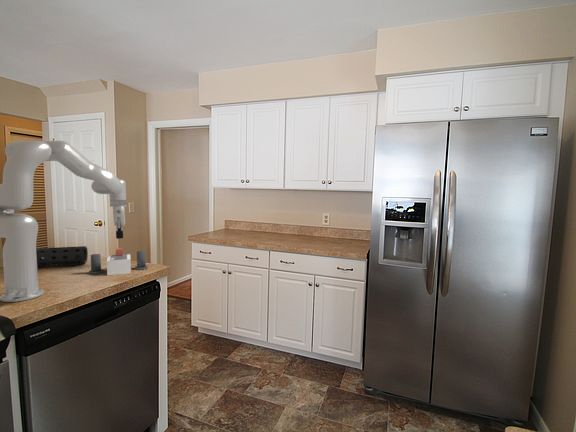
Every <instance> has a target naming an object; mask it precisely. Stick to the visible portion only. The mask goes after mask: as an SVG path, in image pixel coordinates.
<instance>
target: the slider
mask: <svg viewBox="0 0 576 432" xmlns="http://www.w3.org/2000/svg"><path fill="white" fill-rule="evenodd" d="M123 254H124V253H123V248H115V255H116V256H117V255H123Z"/></svg>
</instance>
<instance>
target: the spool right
mask: <svg viewBox="0 0 576 432" xmlns="http://www.w3.org/2000/svg"><path fill="white" fill-rule="evenodd" d="M146 261H147V260H146V250H137V251H136V266H135V267H134V270H135V271H144V269H145V270H148V269H149V266H148V265H146ZM147 268H148V269H147Z"/></svg>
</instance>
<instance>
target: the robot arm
mask: <svg viewBox="0 0 576 432" xmlns="http://www.w3.org/2000/svg"><path fill="white" fill-rule="evenodd" d="M4 153H5V156H6V157H7V160H6V162H5V164H4V166H3V171H2V182H1V183H0V239H1V238H2V239H5V241H4V244H3V247H2V262H3V263H2V264H3V265H2V266H3V280H4V293H3V294H1V295H0V301H1V302H3V303H4V302H5V303H16V302H23V301H29V300H32V299H35V298H37V297H38V298H39V297H41V296H42V295H44V289H43V288H39V278H38V277H39V275H38V268H37V254H36V248H37V239H38V233H39V223H38V221H37V220H36V218H34V217H33V216H31V215H29V214H26V213H16V212H15V211H18V210H19V211H21V210H22V211H23V210H27V209H29V208H30V207H32V205H33V202H34V177H35V176H34V175H35V171H36V169H37V168H38V167H39V166H40V165H41V164H43V163H45V162H57V163H59V164H60V165H62V166H63V167H64V168H66V169H67V170H68V171H70V172H71V173H73V174H74V175H75V176H76V177H80V178H83V179H84V180H85V179H86V180H90V181H92V183H91V187H90V188H91V189H92V191H93V192H94V193H96V194H99V195H109V207H112V217H113V223H114V226H115V227H116V231H115V238H116V239H117V240H118V239H119V240H120V239H124V231H123V226H125V225H126V211H125V210H126V209H125V207H127V183H126V181H125V180H124V179H119V177H117V175H115V174H114V173H113V172H111V171H109V170H108V169H107V168H104V167H101V166H100V165H98V164H96V163H94V162H91V161H90V160H89V159H88V158H87V157H85V156H84V155H83V154H82V153H81V152H80V151H78V149H76V148H75V147H74V146H73V145H71V144H70V143H69V142H67V141H64V140H16V141H15V140H13V141H10V142H9V143H8V144H6V146H5V148H4Z"/></svg>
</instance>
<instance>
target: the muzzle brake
mask: <svg viewBox="0 0 576 432" xmlns="http://www.w3.org/2000/svg"><path fill="white" fill-rule="evenodd" d="M36 254H37V269H38V268H45V267H46V266H57V267H60V266H64V267H65V266H78V265H79V266H81V265H86V263H87V261H88V258H89V257H88V256H89V255H88V254H89V253H88V248H87V246H83V245H81V246H63V247H62V246H61V247H58V246H57V247H40V248H37V247H36Z"/></svg>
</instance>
